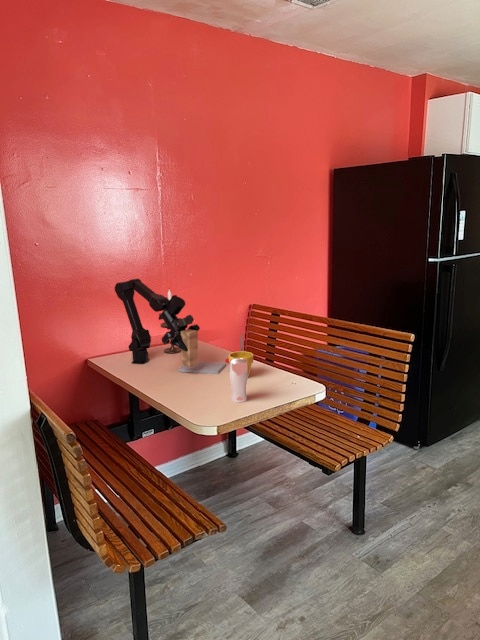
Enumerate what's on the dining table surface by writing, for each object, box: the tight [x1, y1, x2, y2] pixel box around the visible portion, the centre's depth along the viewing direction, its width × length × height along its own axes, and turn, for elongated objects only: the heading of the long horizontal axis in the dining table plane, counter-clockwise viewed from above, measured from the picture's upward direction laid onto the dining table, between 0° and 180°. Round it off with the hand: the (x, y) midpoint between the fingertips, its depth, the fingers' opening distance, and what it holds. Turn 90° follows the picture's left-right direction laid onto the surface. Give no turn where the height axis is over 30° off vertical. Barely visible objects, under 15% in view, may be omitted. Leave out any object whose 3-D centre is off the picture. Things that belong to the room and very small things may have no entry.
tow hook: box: [224, 334, 245, 364], centre depth 224 cm, size 8×13×9 cm
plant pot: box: [228, 350, 254, 378], centre depth 202 cm, size 10×10×10 cm
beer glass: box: [228, 358, 249, 403], centre depth 177 cm, size 7×7×15 cm
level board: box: [178, 361, 227, 375], centre depth 215 cm, size 18×12×1 cm, turn 74°
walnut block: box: [180, 328, 199, 367], centre depth 205 cm, size 5×5×15 cm
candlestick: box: [159, 283, 181, 355], centre depth 241 cm, size 11×11×35 cm
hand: (191, 349), depth 205 cm, fingers closed on walnut block, 5 cm apart
